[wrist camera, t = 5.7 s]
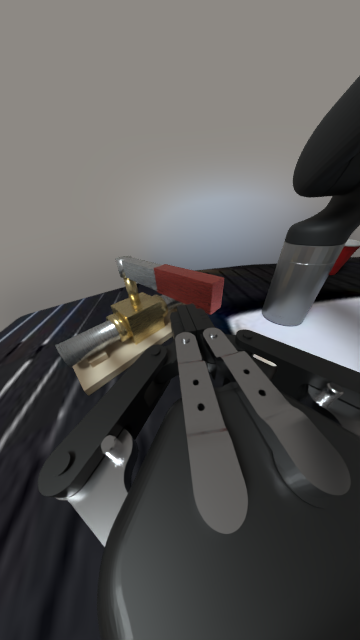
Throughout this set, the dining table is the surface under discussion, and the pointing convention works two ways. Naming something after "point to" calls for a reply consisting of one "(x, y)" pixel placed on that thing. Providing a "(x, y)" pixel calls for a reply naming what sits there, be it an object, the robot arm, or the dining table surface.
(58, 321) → the dining table surface
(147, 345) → the mounting board
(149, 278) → the valve lever
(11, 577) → the dining table surface
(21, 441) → the dining table surface
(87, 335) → the valve line
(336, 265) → the plastic cup
